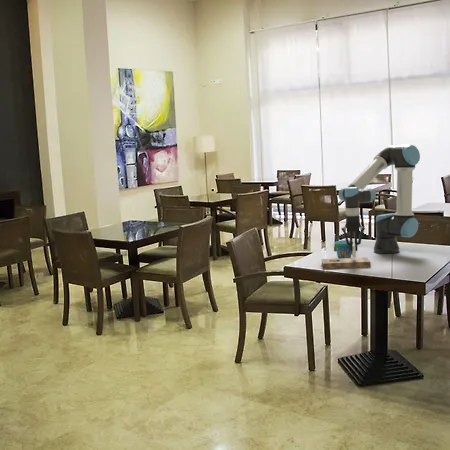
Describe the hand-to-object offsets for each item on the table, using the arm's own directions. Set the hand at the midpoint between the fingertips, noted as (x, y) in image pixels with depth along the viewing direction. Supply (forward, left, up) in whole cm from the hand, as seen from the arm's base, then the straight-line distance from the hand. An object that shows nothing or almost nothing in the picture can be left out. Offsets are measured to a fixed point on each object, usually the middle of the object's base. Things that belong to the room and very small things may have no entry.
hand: (354, 256), depth 325 cm
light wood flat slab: (+5, 0, -5) cm, 7 cm away
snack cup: (+4, -19, -5) cm, 20 cm away
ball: (+12, 0, -3) cm, 12 cm away
